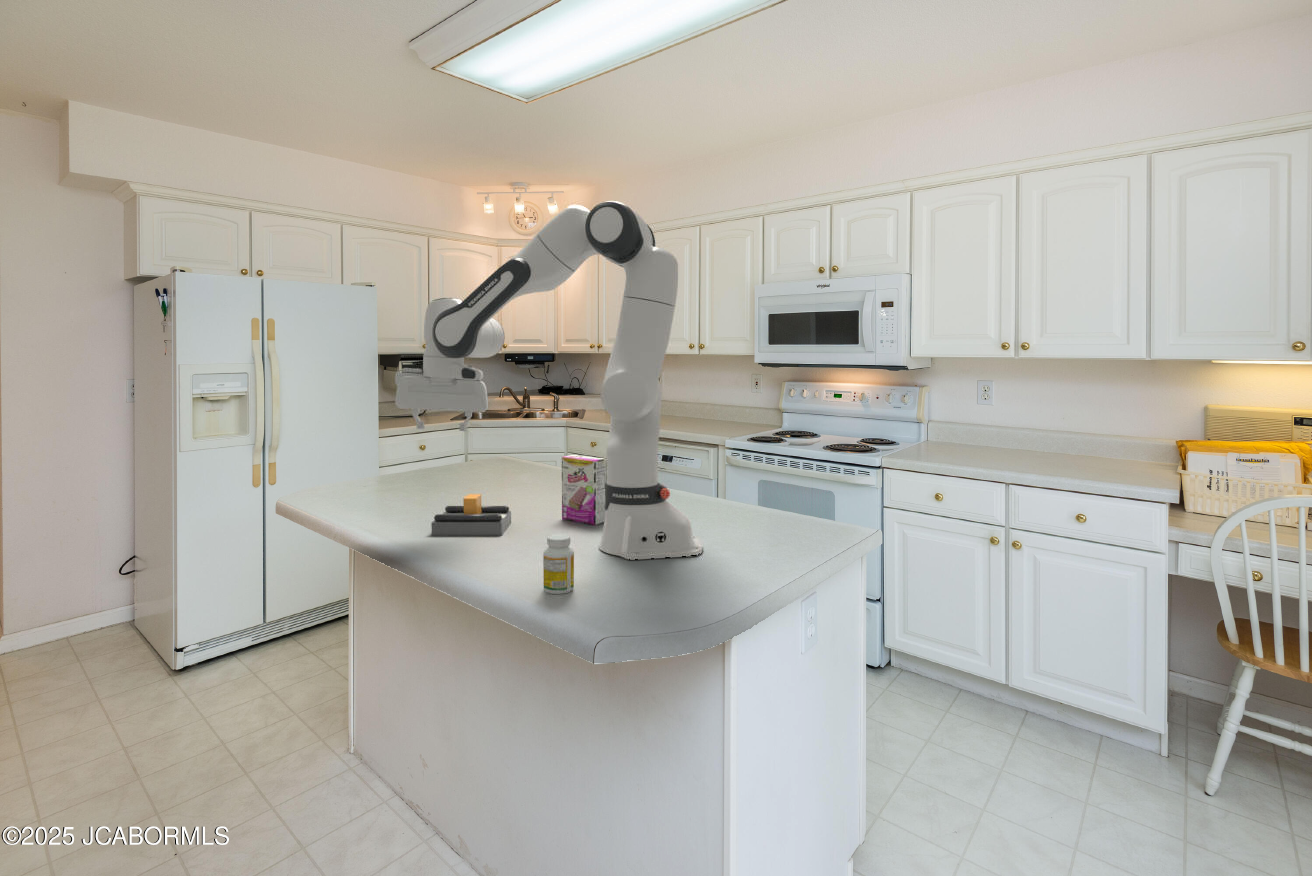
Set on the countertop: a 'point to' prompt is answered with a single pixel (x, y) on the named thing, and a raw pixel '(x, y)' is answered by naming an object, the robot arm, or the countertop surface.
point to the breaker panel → (471, 521)
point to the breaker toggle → (472, 504)
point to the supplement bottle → (558, 565)
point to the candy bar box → (583, 489)
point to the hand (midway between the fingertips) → (441, 429)
